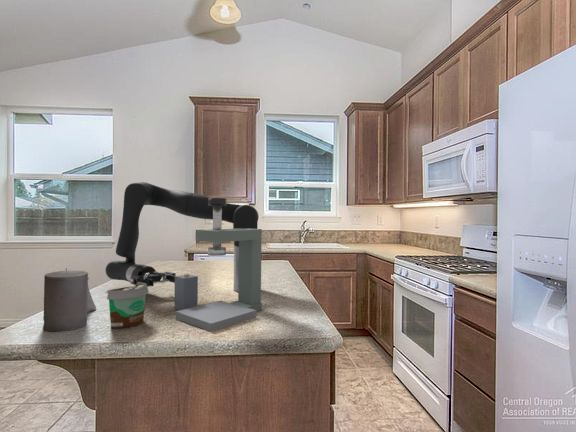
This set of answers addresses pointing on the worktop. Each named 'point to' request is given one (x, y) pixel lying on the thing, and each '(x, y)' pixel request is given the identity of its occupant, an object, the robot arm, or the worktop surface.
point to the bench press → (248, 288)
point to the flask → (90, 302)
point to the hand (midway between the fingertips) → (164, 281)
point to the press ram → (217, 225)
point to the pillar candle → (65, 300)
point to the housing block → (186, 291)
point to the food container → (127, 306)
